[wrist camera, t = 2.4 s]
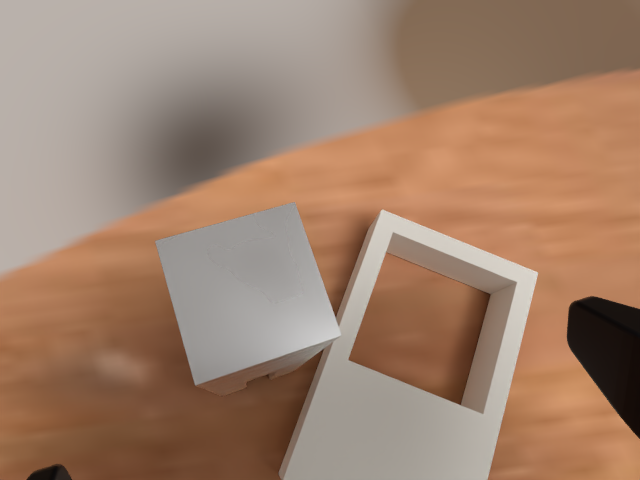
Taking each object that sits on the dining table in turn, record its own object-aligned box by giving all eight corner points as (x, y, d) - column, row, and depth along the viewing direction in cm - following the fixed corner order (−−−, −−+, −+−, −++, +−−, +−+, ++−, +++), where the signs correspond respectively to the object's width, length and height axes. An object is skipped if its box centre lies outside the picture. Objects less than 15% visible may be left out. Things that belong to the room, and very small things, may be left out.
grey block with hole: (443, 539, 21) (468, 556, 19) (278, 473, 21) (282, 482, 19) (510, 285, 25) (538, 272, 22) (368, 228, 24) (381, 209, 22)
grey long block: (292, 371, 22) (341, 335, 11) (222, 396, 22) (195, 385, 10) (270, 303, 23) (294, 201, 12) (201, 325, 22) (155, 240, 11)
